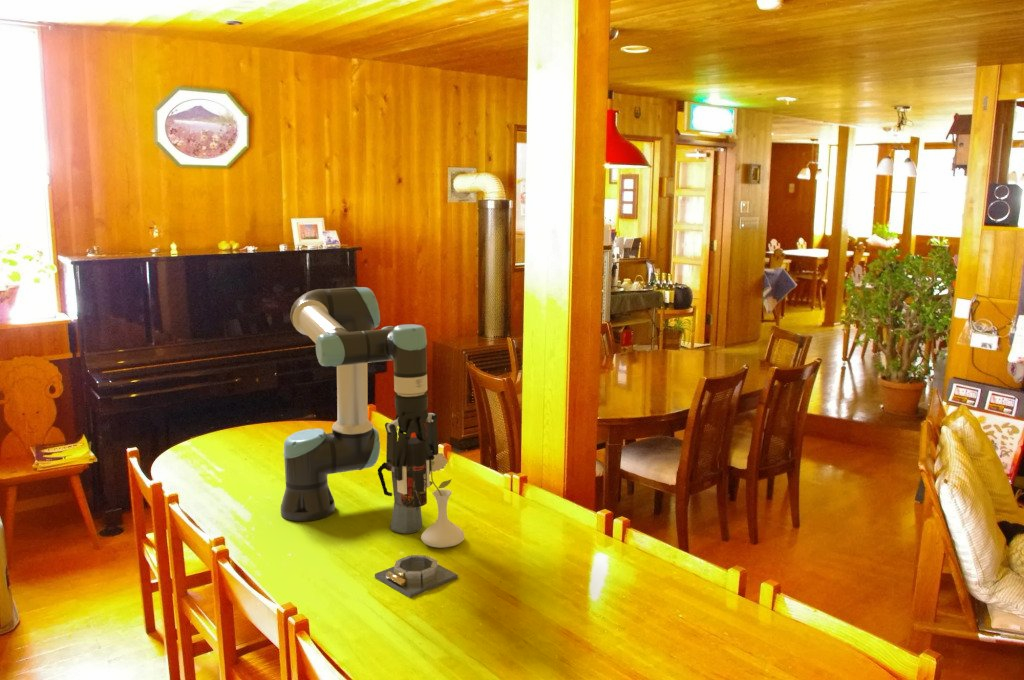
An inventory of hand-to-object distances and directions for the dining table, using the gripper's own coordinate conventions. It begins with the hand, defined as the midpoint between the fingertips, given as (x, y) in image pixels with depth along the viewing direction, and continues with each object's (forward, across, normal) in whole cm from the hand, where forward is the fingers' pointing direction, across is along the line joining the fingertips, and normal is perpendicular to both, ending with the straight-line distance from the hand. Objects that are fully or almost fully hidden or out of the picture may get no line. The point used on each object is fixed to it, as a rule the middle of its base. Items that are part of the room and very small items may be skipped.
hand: (413, 489), depth 194 cm
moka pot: (+22, +16, +26) cm, 38 cm away
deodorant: (+4, 0, 0) cm, 4 cm away
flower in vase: (+22, +17, +12) cm, 31 cm away
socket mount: (+22, 0, 0) cm, 22 cm away
